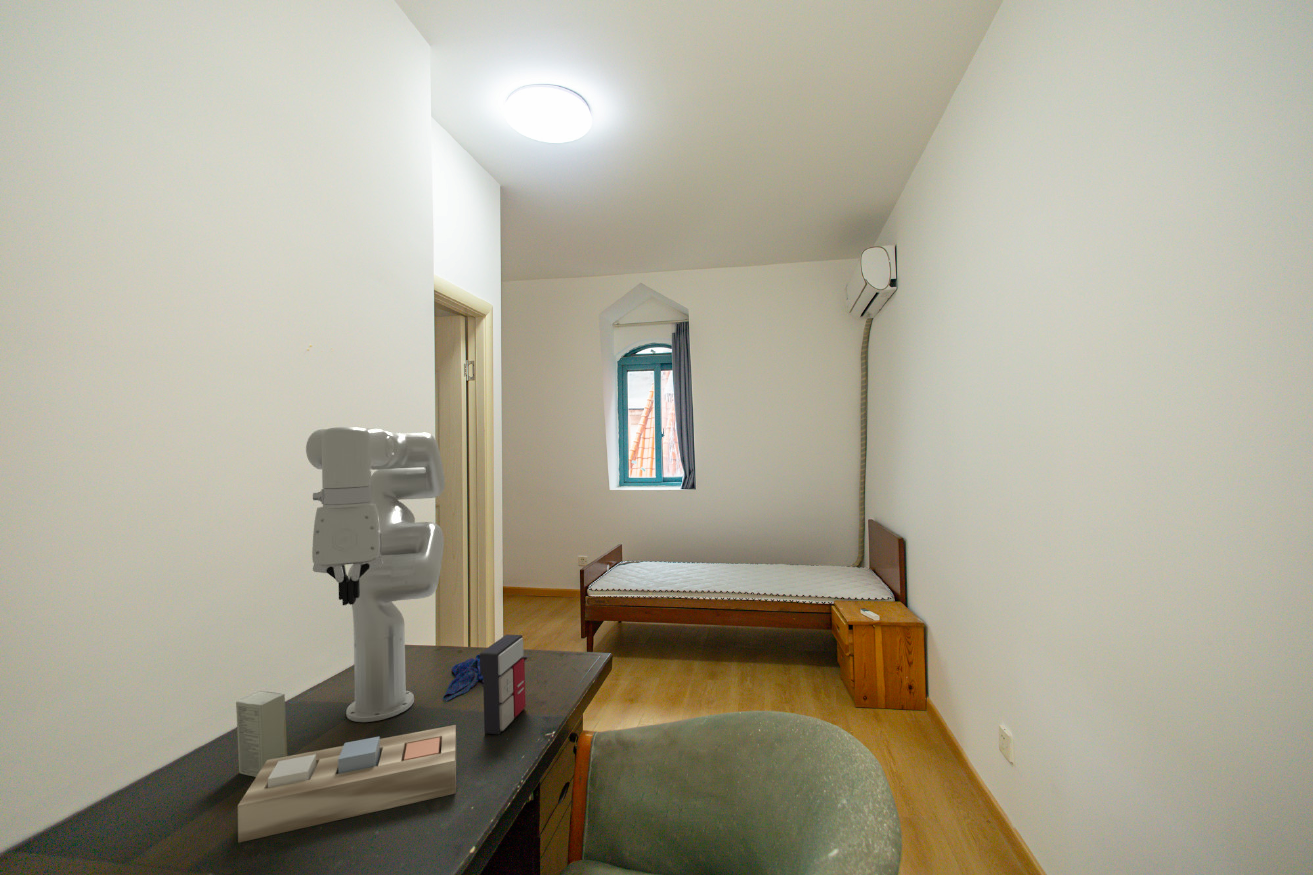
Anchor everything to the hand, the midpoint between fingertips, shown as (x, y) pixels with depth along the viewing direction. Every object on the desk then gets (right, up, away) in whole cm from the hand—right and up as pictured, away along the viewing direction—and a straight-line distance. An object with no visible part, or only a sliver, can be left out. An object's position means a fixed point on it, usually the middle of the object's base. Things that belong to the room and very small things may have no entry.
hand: (349, 602), depth 95 cm
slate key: (+7, -23, -10) cm, 26 cm away
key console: (+7, -27, -10) cm, 29 cm away
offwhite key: (-1, -24, -13) cm, 27 cm away
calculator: (+24, -27, +12) cm, 38 cm away
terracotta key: (+16, -24, -7) cm, 30 cm away
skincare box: (-13, -28, -3) cm, 31 cm away
